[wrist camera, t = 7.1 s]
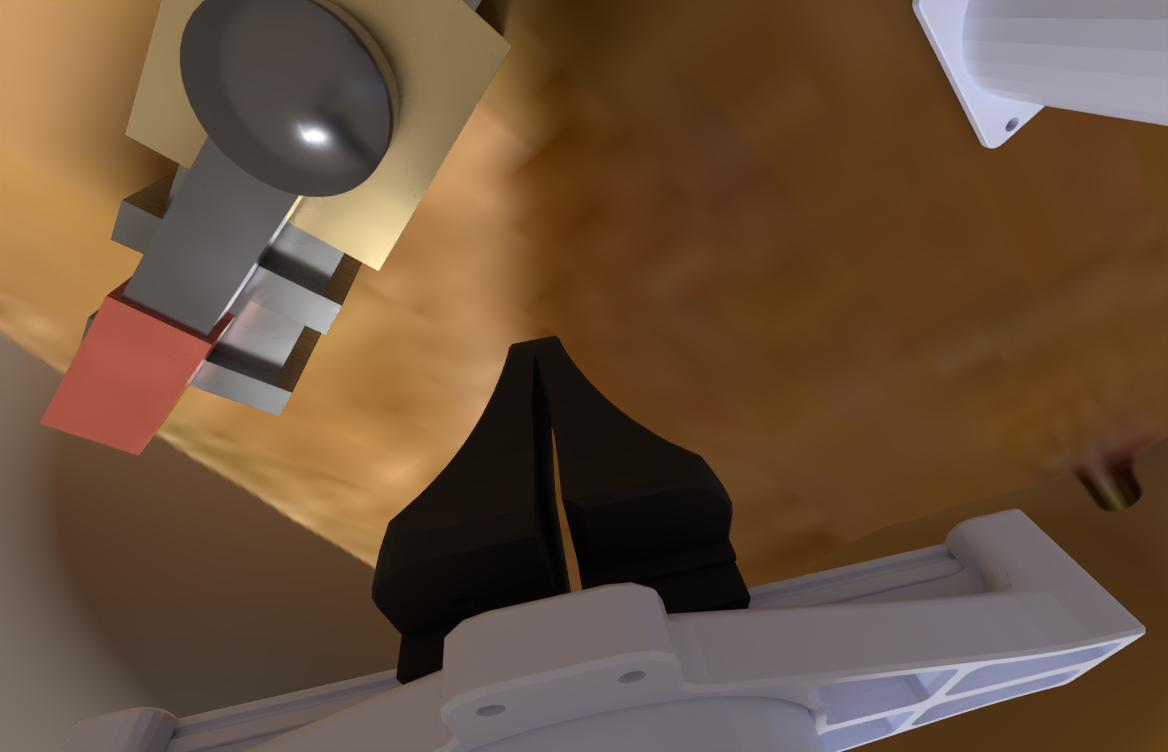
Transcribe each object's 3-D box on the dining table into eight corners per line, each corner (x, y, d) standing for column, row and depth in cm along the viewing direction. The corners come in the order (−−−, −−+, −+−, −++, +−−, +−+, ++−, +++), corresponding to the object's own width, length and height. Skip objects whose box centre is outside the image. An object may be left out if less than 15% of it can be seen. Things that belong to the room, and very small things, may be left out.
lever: (270, -61, 9) (232, -74, 8) (431, 91, 11) (424, 101, 10) (52, 371, 13) (3, 413, 12) (193, 424, 15) (165, 465, 14)
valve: (429, -513, 9) (391, -919, 5) (640, -200, 12) (720, -305, 8) (160, 263, 17) (61, 341, 13) (329, 338, 20) (291, 420, 16)
